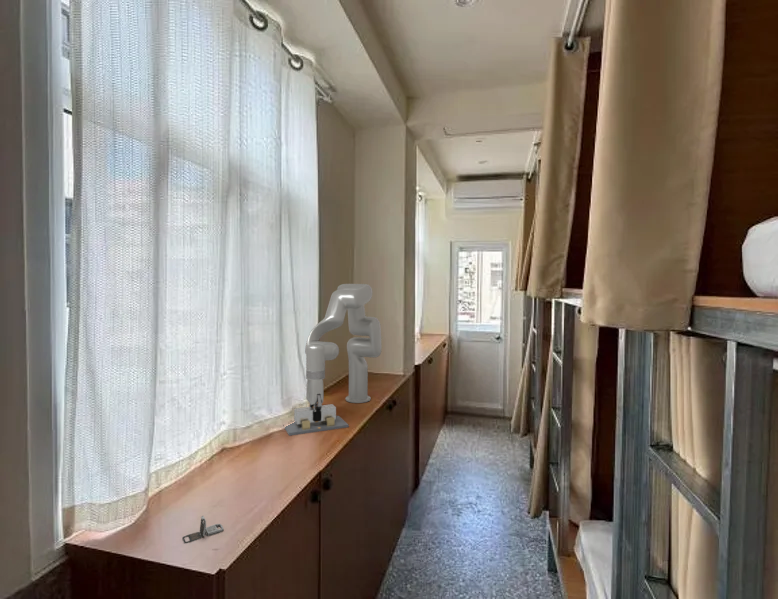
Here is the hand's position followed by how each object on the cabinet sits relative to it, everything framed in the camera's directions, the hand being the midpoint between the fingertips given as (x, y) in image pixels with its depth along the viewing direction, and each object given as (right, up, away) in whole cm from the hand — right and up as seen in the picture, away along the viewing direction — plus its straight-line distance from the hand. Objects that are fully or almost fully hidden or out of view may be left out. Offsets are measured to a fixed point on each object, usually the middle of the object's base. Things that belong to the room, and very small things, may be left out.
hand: (315, 418), depth 170 cm
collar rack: (0, -3, 0) cm, 3 cm away
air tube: (0, -1, 0) cm, 1 cm away
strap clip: (-13, -6, -74) cm, 75 cm away
